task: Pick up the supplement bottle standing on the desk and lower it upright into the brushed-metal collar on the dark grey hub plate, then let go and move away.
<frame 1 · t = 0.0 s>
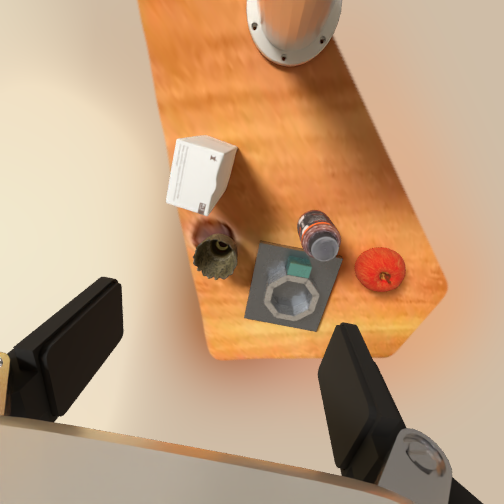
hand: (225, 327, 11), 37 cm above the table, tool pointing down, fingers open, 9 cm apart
apple: (371, 259, 49), on the table
cup: (223, 242, 49), on the table
skincare box: (216, 166, 44), on the table
supplement bottle: (312, 224, 47), on the table
hub plate: (289, 287, 52), on the table
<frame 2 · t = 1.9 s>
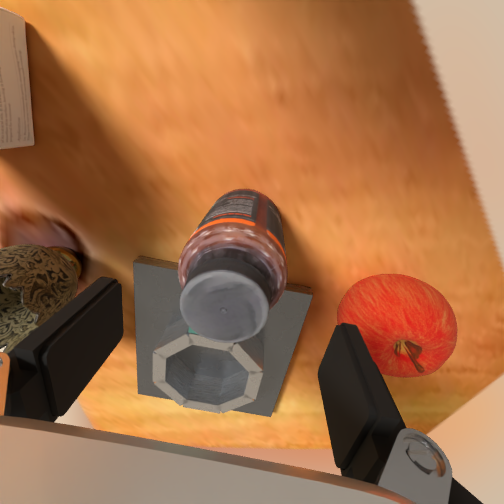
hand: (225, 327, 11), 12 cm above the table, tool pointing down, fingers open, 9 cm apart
apple: (374, 294, 23), on the table
cup: (68, 259, 24), on the table
supplement bottle: (245, 222, 21), on the table
hub plate: (215, 342, 27), on the table
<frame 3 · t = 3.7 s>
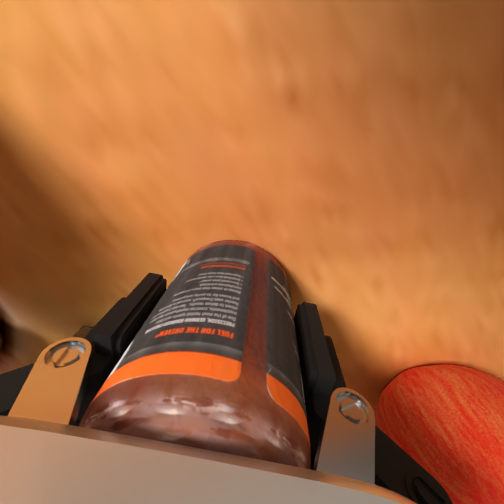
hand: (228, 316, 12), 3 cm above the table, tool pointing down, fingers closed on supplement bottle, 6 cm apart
apple: (423, 382, 16), on the table
supplement bottle: (235, 284, 14), on the table, touching gripper
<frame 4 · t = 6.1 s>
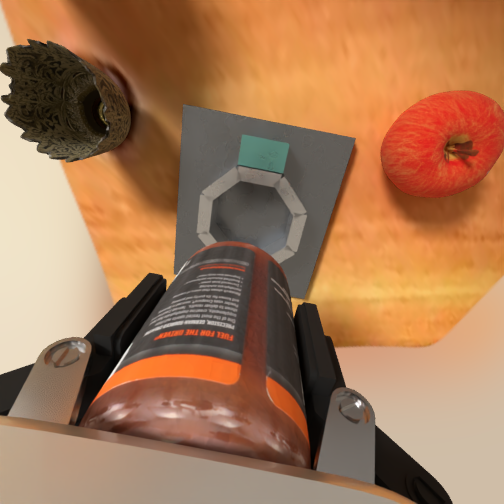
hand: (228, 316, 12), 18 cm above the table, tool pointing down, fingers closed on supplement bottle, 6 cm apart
apple: (412, 146, 24), on the table
cup: (116, 115, 25), on the table
supplement bottle: (235, 285, 14), point 15 cm above the table, touching gripper
hub plate: (253, 212, 28), on the table
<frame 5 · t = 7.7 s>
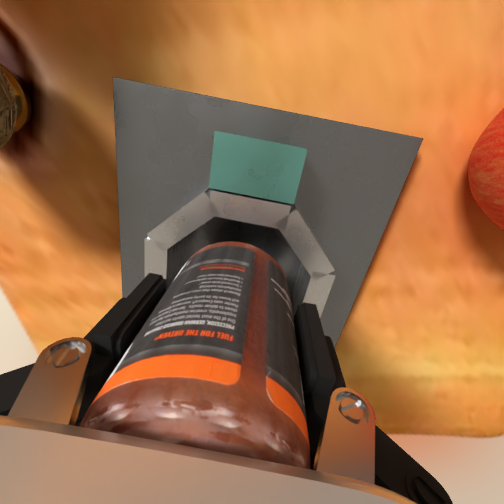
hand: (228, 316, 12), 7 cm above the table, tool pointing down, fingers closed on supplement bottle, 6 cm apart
cup: (10, 99, 15), on the table
supplement bottle: (235, 285, 14), point 4 cm above the table, touching gripper
hub plate: (242, 255, 18), on the table
when the fingers open (6 cm above the table, at t = 8.7 s): supplement bottle drops 2 cm, resting on hub plate.
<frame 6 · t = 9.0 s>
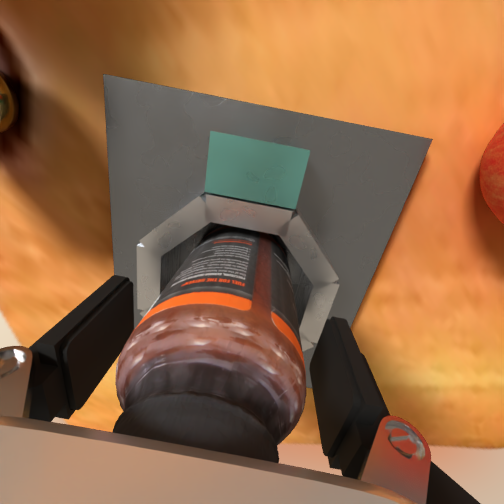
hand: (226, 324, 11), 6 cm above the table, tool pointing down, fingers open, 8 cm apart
supplement bottle: (241, 267, 16), point 1 cm above the table, touching hub plate
hub plate: (241, 261, 17), on the table
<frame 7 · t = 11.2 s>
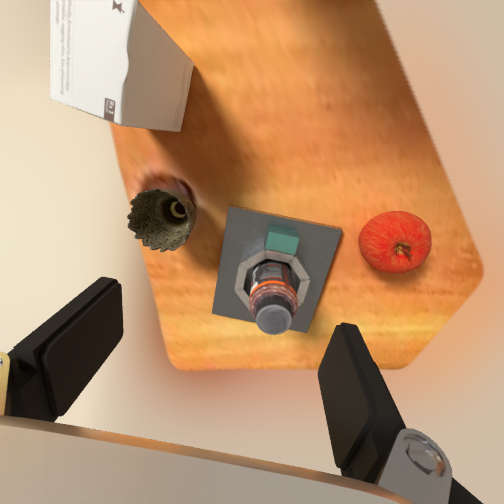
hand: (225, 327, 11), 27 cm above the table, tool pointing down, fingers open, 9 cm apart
apple: (381, 233, 36), on the table
cup: (181, 208, 37), on the table
skincare box: (167, 94, 32), on the table
supplement bottle: (272, 273, 38), point 1 cm above the table, touching hub plate
hub plate: (271, 271, 39), on the table
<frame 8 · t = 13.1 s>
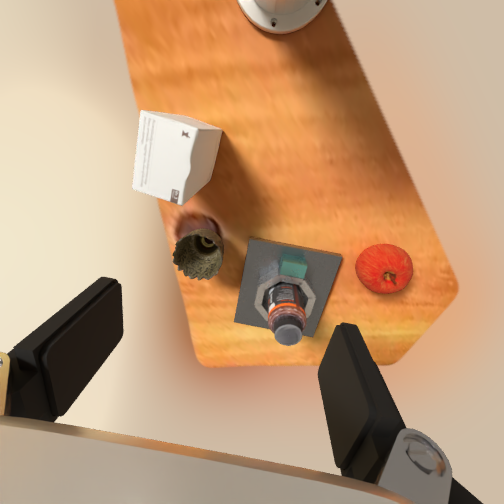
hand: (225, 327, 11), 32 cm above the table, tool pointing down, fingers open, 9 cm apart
apple: (374, 258, 44), on the table
cup: (209, 239, 45), on the table
skincare box: (200, 152, 39), on the table
supplement bottle: (284, 290, 46), point 1 cm above the table, touching hub plate
hub plate: (283, 288, 47), on the table
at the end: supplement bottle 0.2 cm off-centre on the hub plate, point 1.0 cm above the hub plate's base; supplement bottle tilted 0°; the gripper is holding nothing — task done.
